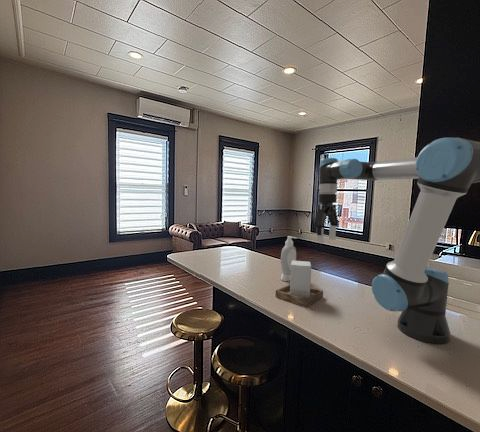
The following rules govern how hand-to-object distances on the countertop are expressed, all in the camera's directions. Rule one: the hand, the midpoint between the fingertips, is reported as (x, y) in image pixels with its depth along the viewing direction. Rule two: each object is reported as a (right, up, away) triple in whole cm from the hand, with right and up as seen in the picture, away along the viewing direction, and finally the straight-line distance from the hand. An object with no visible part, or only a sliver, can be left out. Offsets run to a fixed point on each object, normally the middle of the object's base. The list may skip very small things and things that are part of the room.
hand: (326, 241), depth 118 cm
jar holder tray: (-11, -26, +3) cm, 29 cm away
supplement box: (-11, -25, +3) cm, 28 cm away
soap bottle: (-11, -25, +28) cm, 39 cm away
